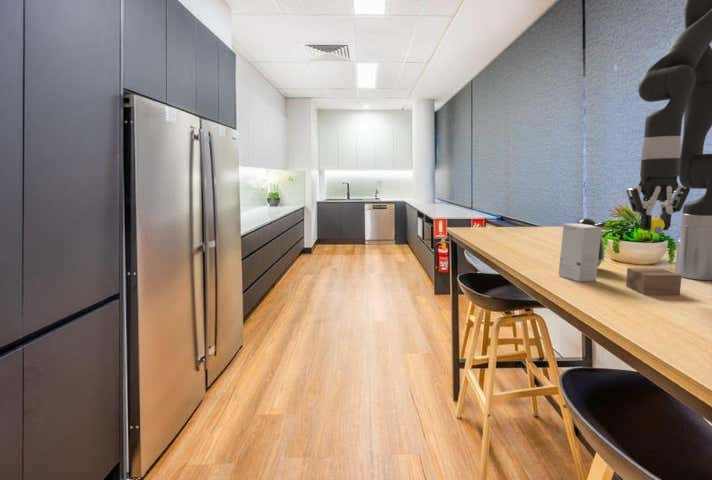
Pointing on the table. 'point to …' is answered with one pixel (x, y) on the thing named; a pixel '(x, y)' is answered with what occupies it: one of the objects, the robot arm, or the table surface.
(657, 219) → the light bulb
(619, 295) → the table surface
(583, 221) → the pump dispenser
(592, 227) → the skincare box
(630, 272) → the walnut block
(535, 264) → the table surface
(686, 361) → the table surface
